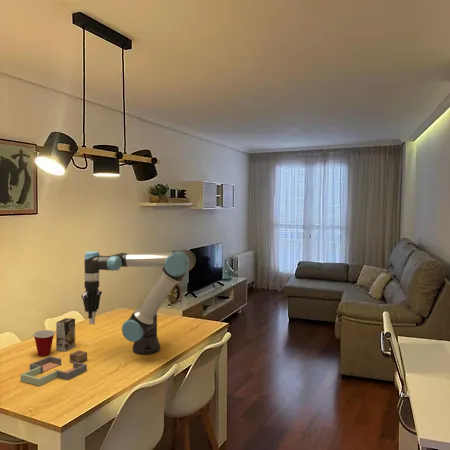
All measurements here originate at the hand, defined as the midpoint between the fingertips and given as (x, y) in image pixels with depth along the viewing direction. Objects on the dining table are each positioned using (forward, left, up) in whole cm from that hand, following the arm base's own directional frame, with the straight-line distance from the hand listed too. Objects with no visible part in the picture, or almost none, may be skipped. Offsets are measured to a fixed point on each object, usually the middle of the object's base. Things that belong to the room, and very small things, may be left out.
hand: (91, 323), depth 213 cm
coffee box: (+20, -1, -17) cm, 27 cm away
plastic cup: (+23, +11, -17) cm, 31 cm away
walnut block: (0, +10, -17) cm, 20 cm away
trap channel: (0, +28, -17) cm, 33 cm away
